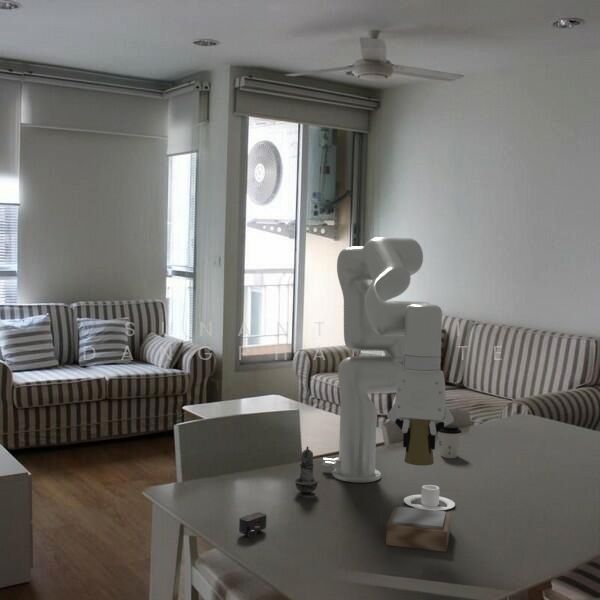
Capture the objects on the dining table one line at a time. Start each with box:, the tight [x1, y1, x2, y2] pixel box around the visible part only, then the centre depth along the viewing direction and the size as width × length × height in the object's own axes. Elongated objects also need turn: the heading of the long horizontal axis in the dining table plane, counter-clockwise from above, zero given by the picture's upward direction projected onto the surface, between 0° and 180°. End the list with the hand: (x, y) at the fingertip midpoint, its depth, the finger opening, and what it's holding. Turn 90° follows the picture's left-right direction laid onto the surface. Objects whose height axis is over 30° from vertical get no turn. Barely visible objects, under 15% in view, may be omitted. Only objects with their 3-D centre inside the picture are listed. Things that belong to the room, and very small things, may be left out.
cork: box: [403, 419, 435, 467], centre depth 164 cm, size 6×6×11 cm
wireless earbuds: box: [238, 511, 268, 538], centre depth 165 cm, size 4×7×3 cm, turn 139°
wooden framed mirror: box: [385, 506, 452, 553], centre depth 164 cm, size 12×12×5 cm
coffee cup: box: [437, 423, 462, 459], centre depth 229 cm, size 7×7×10 cm
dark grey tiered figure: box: [293, 445, 320, 500], centre depth 191 cm, size 6×6×12 cm
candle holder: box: [403, 484, 456, 511], centre depth 187 cm, size 12×12×4 cm
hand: (418, 450), depth 165 cm, fingers closed on cork, 3 cm apart
